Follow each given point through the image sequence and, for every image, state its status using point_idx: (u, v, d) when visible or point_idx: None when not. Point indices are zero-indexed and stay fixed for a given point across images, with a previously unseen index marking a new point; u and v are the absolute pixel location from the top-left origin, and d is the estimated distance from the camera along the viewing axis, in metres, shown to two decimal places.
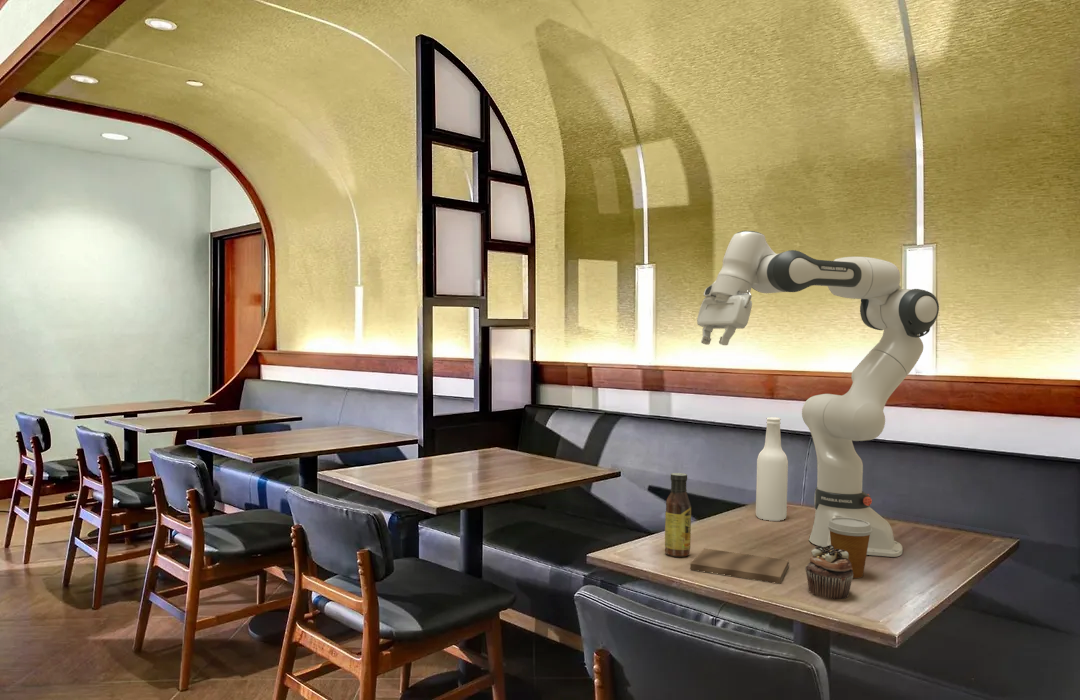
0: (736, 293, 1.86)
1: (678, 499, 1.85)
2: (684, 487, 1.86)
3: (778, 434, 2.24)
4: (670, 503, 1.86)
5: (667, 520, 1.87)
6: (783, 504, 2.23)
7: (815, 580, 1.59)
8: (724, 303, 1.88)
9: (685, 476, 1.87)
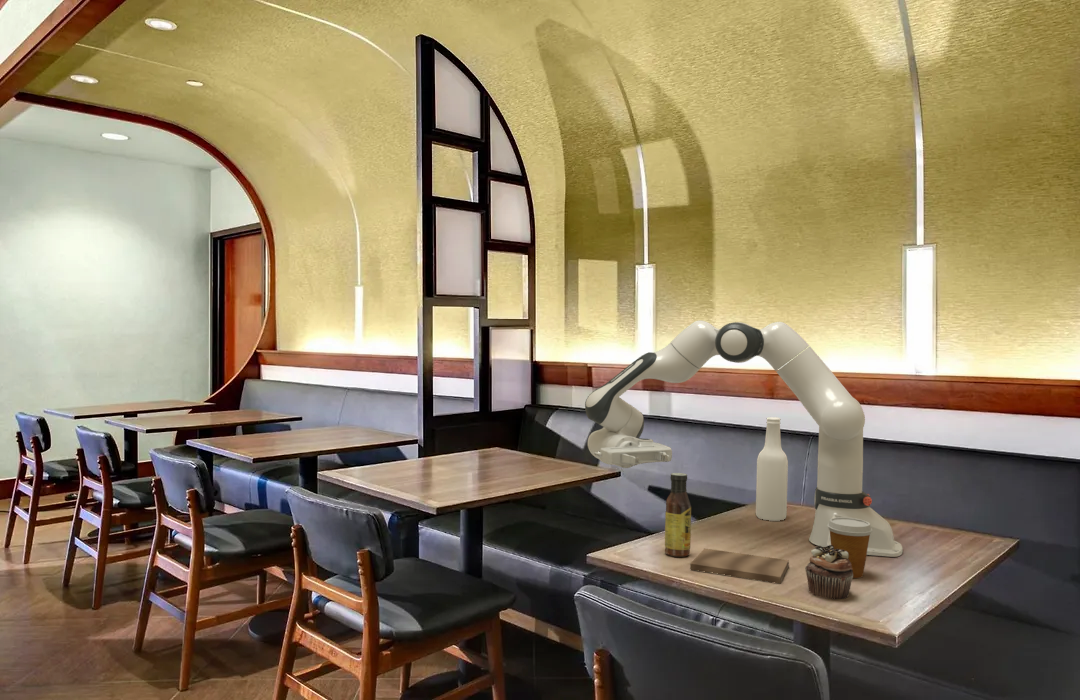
0: None
1: (678, 499, 1.85)
2: (684, 487, 1.86)
3: (778, 434, 2.24)
4: (670, 503, 1.86)
5: (667, 520, 1.87)
6: (783, 504, 2.23)
7: (815, 580, 1.59)
8: None
9: (685, 476, 1.87)
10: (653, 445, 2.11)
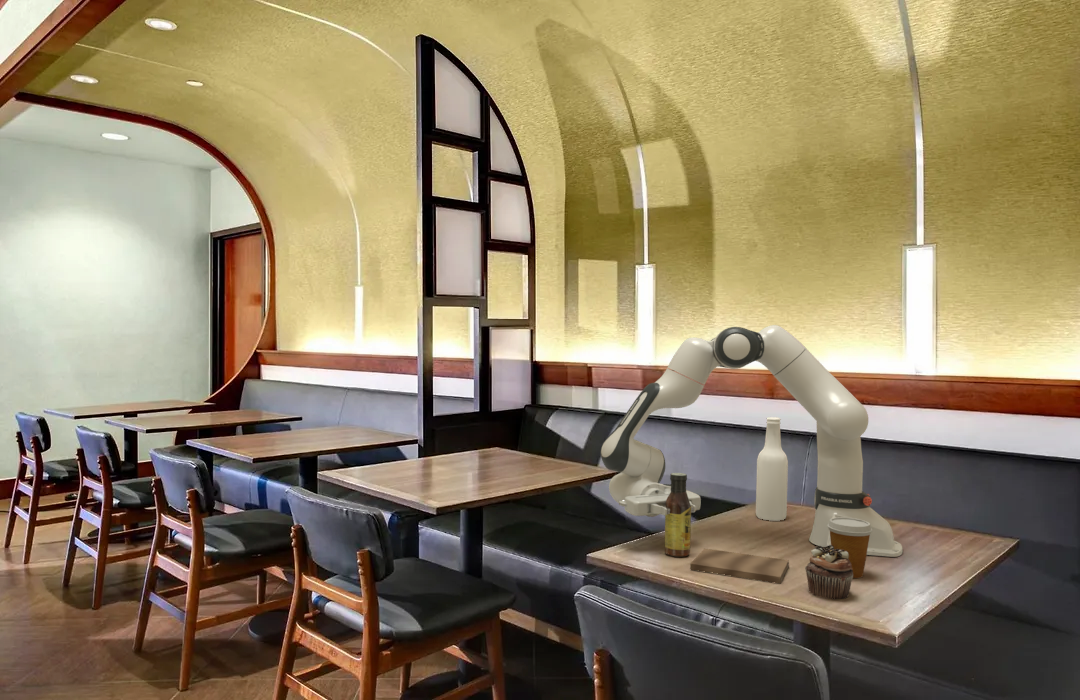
0: None
1: (678, 499, 1.85)
2: (684, 487, 1.86)
3: (778, 434, 2.24)
4: (670, 504, 1.86)
5: (667, 520, 1.87)
6: (783, 504, 2.23)
7: (815, 580, 1.59)
8: None
9: (685, 476, 1.87)
10: None
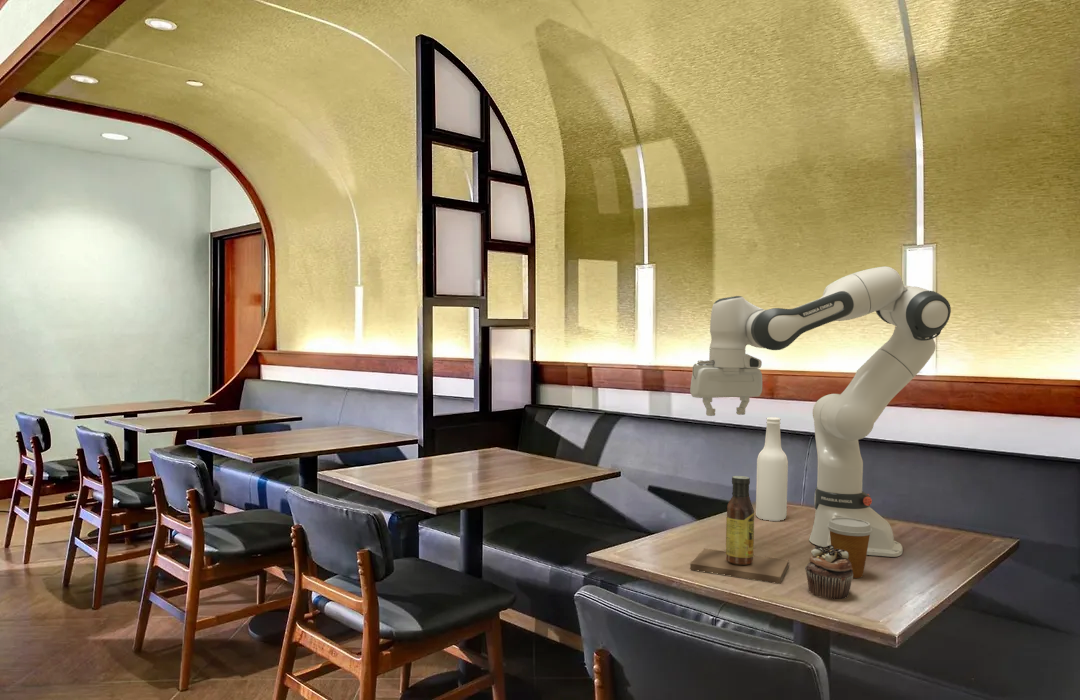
0: None
1: (741, 504, 1.75)
2: (747, 491, 1.76)
3: (778, 434, 2.24)
4: (732, 509, 1.75)
5: (729, 526, 1.76)
6: (783, 504, 2.23)
7: (815, 580, 1.59)
8: None
9: (748, 479, 1.76)
10: (754, 375, 1.93)
